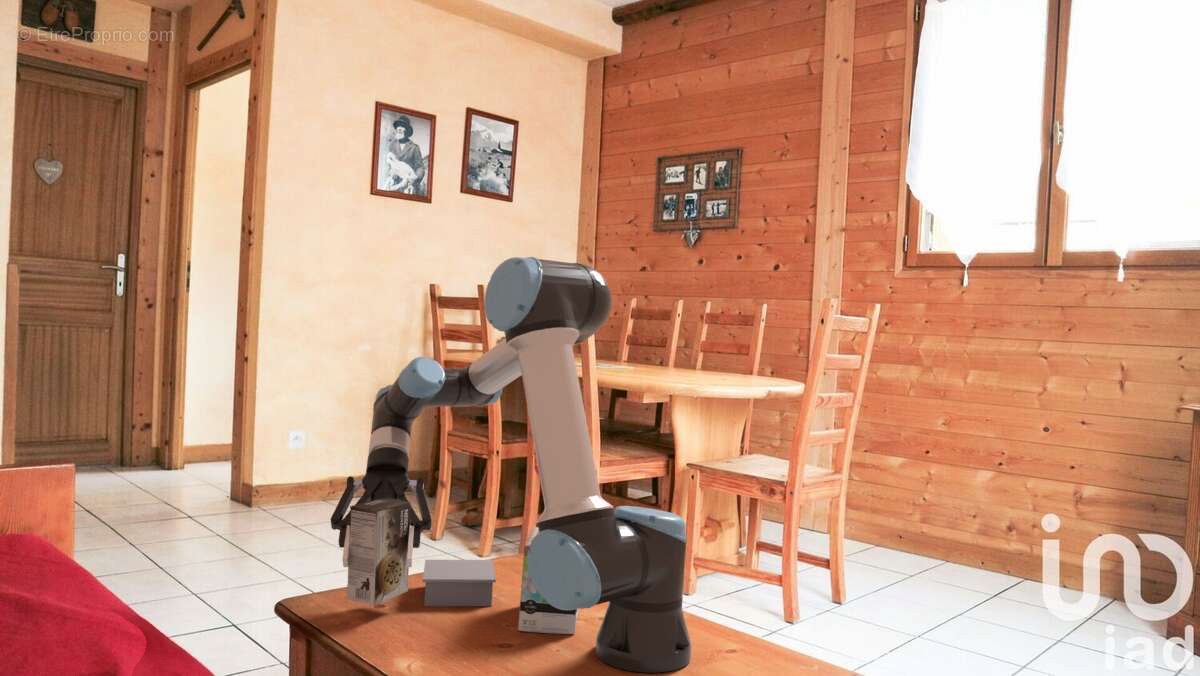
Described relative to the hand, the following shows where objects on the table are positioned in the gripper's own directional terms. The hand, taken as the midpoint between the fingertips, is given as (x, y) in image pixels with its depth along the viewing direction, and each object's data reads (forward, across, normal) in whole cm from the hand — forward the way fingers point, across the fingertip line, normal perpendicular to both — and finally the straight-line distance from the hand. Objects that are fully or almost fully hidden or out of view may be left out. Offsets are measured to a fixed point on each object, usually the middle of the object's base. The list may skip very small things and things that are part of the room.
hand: (377, 563), depth 147 cm
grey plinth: (-2, -14, -16) cm, 21 cm away
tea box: (+7, -30, -7) cm, 32 cm away
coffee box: (+3, 0, -7) cm, 7 cm away
